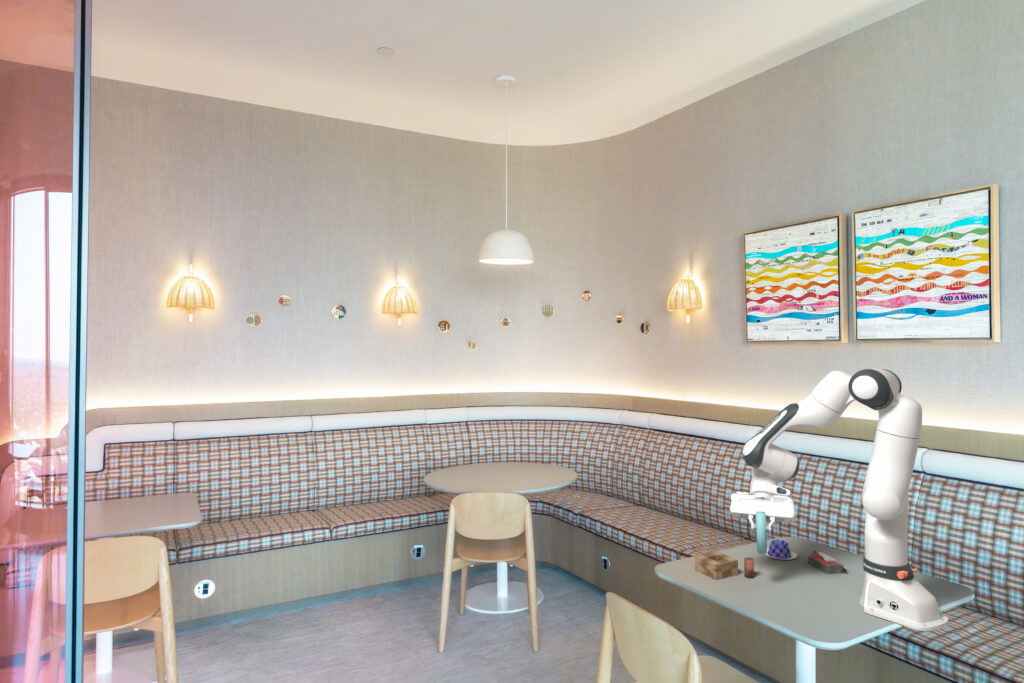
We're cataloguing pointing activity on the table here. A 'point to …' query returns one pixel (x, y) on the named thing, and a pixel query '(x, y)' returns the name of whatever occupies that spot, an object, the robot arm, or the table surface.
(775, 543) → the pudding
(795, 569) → the table surface
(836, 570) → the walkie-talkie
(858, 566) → the table surface
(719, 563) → the hole block
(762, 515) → the long pin
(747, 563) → the short pin
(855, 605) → the table surface
